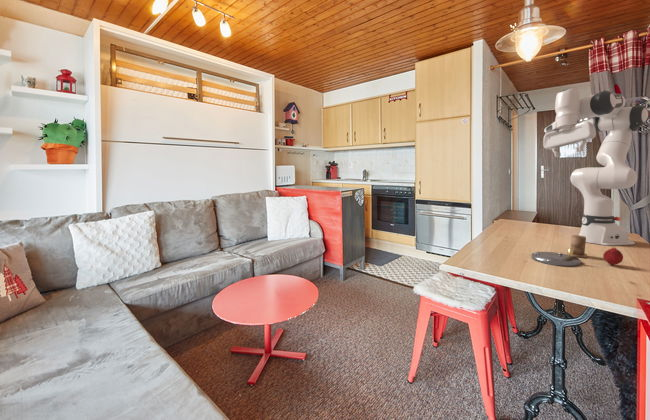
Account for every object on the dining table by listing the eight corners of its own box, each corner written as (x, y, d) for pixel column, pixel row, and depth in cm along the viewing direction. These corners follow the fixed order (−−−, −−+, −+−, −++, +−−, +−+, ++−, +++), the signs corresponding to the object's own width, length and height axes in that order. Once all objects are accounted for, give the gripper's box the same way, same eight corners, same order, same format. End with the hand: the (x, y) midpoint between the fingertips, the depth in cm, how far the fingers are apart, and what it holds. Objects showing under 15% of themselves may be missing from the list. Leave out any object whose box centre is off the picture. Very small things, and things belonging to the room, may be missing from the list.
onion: (625, 268, 118) (628, 248, 117) (609, 267, 119) (611, 248, 118) (614, 263, 124) (617, 244, 123) (598, 262, 125) (601, 244, 124)
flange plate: (563, 254, 137) (565, 241, 136) (590, 266, 120) (592, 252, 120) (523, 253, 140) (524, 241, 139) (544, 266, 123) (545, 251, 122)
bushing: (580, 253, 138) (582, 234, 136) (591, 258, 131) (593, 238, 130) (563, 253, 139) (565, 234, 138) (573, 257, 132) (575, 238, 131)
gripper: (599, 116, 124) (600, 149, 123) (550, 131, 143) (551, 159, 143) (588, 114, 122) (589, 147, 121) (540, 130, 142) (541, 158, 141)
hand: (568, 154), depth 132 cm, fingers open, 8 cm apart
